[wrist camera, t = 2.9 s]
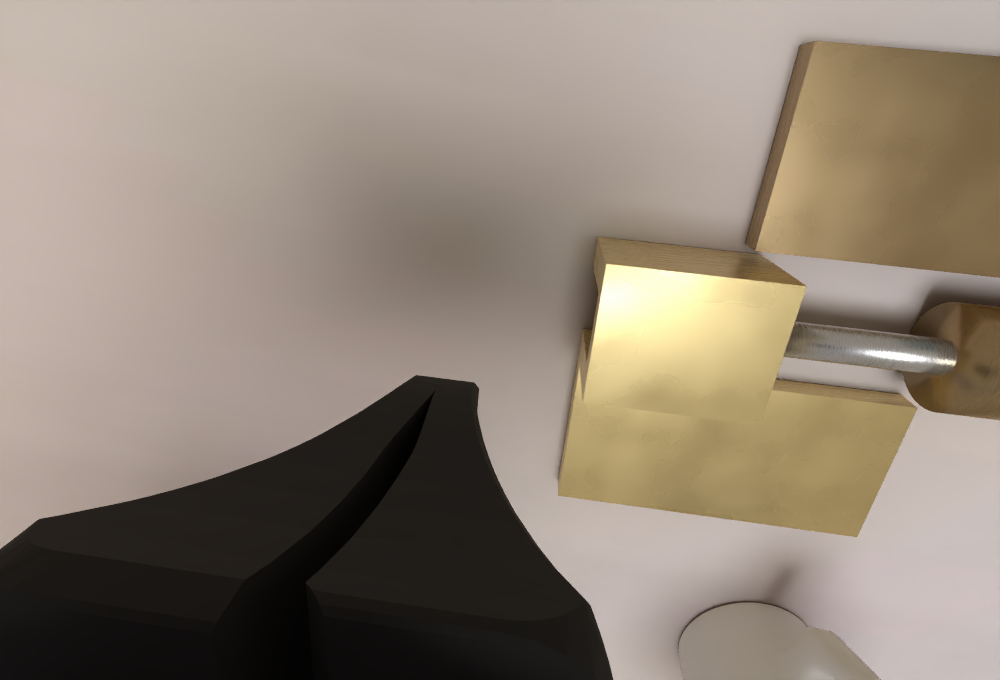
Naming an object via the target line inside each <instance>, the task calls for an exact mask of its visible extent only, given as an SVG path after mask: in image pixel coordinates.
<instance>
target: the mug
mask: <svg viewBox="0 0 1000 680" xmlns="http://www.w3.org/2000/svg"><path fill="white" fill-rule="evenodd" d="M678 653H679V660H680V665H681V670H682V676H683V680H881V679H880V678H879V677H878V676H877V675H876V674H875V673H874V672H873V671H872V670H871V669H870V668H869V667H868V666H867V665H866V664H865V663H864V662H863V661H862V660H861V659H860V658H859V657H858V656H857V655H856V654H855V653H854V652H853V651H852V650H851V649H850V648H849V647H848V646H847V645H846V644H845V643H844V642H843V641H842V640H841V639H840V638H839V637H838V636H837V635H836V634H835V633H833V632H831V631H827V630H822V629H819V628H814V627H807V626H806V625H805V624H804V623H803V622H802V621H801V620H800V619H799V618H798V617H796V616H795V615H793V614H792V613H790V612H788V611H786V610H784V609H781V608H779V607H776V606H772V605H768V604H762V603H751V602H745V603H733V604H728V605H723V606H720V607H717V608H714V609H711V610H709V611H707V612H705V613H703V614H702V615H700V616H698V617H697V618H696V619H695V620H693V621H692V622H691V623H690V624H689V625H688V626H687V628H686V629H685V631H684V632H683V634H682V636H681V638H680V641H679V648H678Z"/></svg>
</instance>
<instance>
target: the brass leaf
mask: <svg viewBox="0 0 1000 680" xmlns="http://www.w3.org/2000/svg"><path fill="white" fill-rule="evenodd" d="M593 270H594V274H595V279H596V283H597V288H598V292H599V294H598V300H597V306H596V311H595V317H594V323H593V329H592V330H590V329H583V331H582V337H581V344H580V350H579V356H578V362H577V368H576V374H575V380H574V387H573V393H572V399H571V405H570V411H569V417H568V423H567V429H566V436H565V442H564V448H563V454H562V460H561V466H560V472H559V478H558V496H566V497H573V498H580V499H587V500H594V501H601V502H609V503H616V504H623V505H630V506H637V507H645V508H652V509H659V510H666V511H673V512H680V513H688V514H695V515H702V516H709V517H716V518H724V519H731V520H738V521H745V522H752V523H759V524H767V525H774V526H781V527H788V528H795V529H803V530H810V531H817V532H824V533H831V534H838V535H846V536H853V537H857V536H858V534H859V532H860V530H861V527H862V525H863V523H864V521H865V519H866V517H867V515H868V512H869V510H870V508H871V506H872V504H873V502H874V500H875V498H876V495H877V493H878V491H879V489H880V487H881V485H882V483H883V481H884V478H885V476H886V474H887V472H888V470H889V468H890V466H891V463H892V461H893V459H894V457H895V455H896V453H897V451H898V449H899V446H900V444H901V442H902V440H903V438H904V436H905V434H906V431H907V429H908V427H909V425H910V423H911V421H912V419H913V417H914V414H915V412H916V410H917V407H916V406H914V405H913V404H912V403H911V402H909V401H908V400H907V399H906V398H905V397H903V396H902V395H901V394H893V393H885V392H877V391H869V390H861V389H852V388H844V387H836V386H828V385H820V384H812V383H804V382H795V381H787V380H779V379H776V377H777V374H778V371H779V368H780V365H781V362H782V359H783V356H784V353H785V350H786V347H787V344H788V341H789V338H790V335H791V332H792V329H793V326H794V323H795V320H796V317H797V314H798V311H799V308H800V305H801V302H802V299H803V296H804V293H805V290H806V287H807V286H805V285H804V284H803V283H801V282H800V281H798V280H797V279H795V278H794V277H792V276H791V275H789V274H788V273H787V272H785V271H784V270H782V269H781V268H779V267H778V266H776V265H775V264H774V263H772V262H771V261H769V260H768V259H766V258H765V257H763V256H762V255H760V254H751V253H742V252H732V251H723V250H714V249H705V248H696V247H687V246H677V245H668V244H659V243H650V242H641V241H632V240H622V239H613V238H604V237H598V239H597V245H596V252H595V258H594V264H593Z"/></svg>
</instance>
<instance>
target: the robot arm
mask: <svg viewBox="0 0 1000 680" xmlns="http://www.w3.org/2000/svg"><path fill="white" fill-rule="evenodd" d="M478 394H479V388H478V387H477V385H476V384H475V383H473V382H466V381H458V380H450V379H442V378H434V377H426V376H418V375H416V376H414V377H413V378H411V379H410V380H408V381H407V382H405V383H403V384H402V385H401V386H399V387H398V388H396V389H395V390H393V391H392V392H390V393H389V394H387V395H386V396H384V397H383V398H381V399H380V400H378V401H376V402H375V403H373V404H372V405H370V406H369V407H367V408H366V409H364V410H363V411H361V412H359V413H358V414H356V415H354V416H352V417H351V418H349V419H347V420H345V421H344V422H342V423H340V424H338V425H337V426H335V427H333V428H331V429H330V430H328V431H326V432H324V433H322V434H321V435H319V436H317V437H315V438H313V439H311V440H309V441H307V442H304V443H302V444H300V445H298V446H296V447H294V448H291V449H289V450H287V451H285V452H282V453H280V454H278V455H276V456H273V457H271V458H268V459H266V460H263V461H260V462H257V463H255V464H252V465H249V466H246V467H244V468H241V469H238V470H235V471H232V472H230V473H227V474H224V475H221V476H219V477H216V478H213V479H209V480H206V481H203V482H199V483H196V484H193V485H189V486H186V487H183V488H179V489H175V490H171V491H168V492H164V493H160V494H156V495H153V496H149V497H145V498H140V499H136V500H132V501H128V502H123V503H118V504H114V505H109V506H104V507H99V508H94V509H89V510H84V511H79V512H74V513H69V514H65V515H60V516H54V517H48V518H43V519H39V520H37V521H36V522H35V523H33V524H32V525H31V526H30V527H28V528H27V529H26V530H25V531H23V532H22V533H21V534H19V535H18V536H17V537H16V538H14V539H13V540H12V541H10V542H9V543H8V544H7V545H5V546H4V547H3V548H1V549H0V680H613V677H612V672H611V668H610V664H609V660H608V657H607V654H606V650H605V647H604V644H603V640H602V637H601V634H600V631H599V628H598V625H597V623H596V620H595V617H594V614H593V611H592V608H591V606H590V604H589V603H588V602H587V601H586V600H585V599H584V598H583V597H582V596H581V595H580V594H579V593H578V592H577V591H576V589H575V588H574V587H573V586H572V585H571V584H570V583H569V582H568V581H567V580H566V579H565V578H564V577H563V576H562V575H561V574H560V573H559V572H558V571H557V570H556V569H555V567H554V566H553V565H552V563H551V562H550V561H549V560H548V558H547V557H546V556H545V555H544V553H543V552H542V551H541V550H540V548H539V547H538V546H537V544H536V543H535V541H534V540H533V538H532V537H531V535H530V534H529V532H528V531H527V529H526V528H525V526H524V525H523V523H522V522H521V520H520V519H519V518H518V516H517V515H516V513H515V511H514V510H513V508H512V506H511V504H510V502H509V500H508V499H507V497H506V495H505V493H504V491H503V489H502V487H501V485H500V483H499V481H498V479H497V476H496V474H495V472H494V469H493V467H492V464H491V462H490V459H489V456H488V453H487V450H486V447H485V444H484V441H483V437H482V433H481V429H480V425H479V420H478V414H477V407H478Z"/></svg>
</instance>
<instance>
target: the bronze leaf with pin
mask: <svg viewBox="0 0 1000 680" xmlns="http://www.w3.org/2000/svg"><path fill="white" fill-rule="evenodd" d="M745 244H746V245H747V246H749V247H750V248H752V249H753V250H755V251H760V252H770V253H779V254H788V255H797V256H806V257H816V258H825V259H834V260H843V261H852V262H861V263H871V264H880V265H889V266H898V267H907V268H917V269H926V270H935V271H944V272H953V273H963V274H972V275H981V276H990V277H999V278H1000V57H996V56H984V55H973V54H961V53H949V52H937V51H925V50H914V49H902V48H890V47H878V46H866V45H855V44H843V43H831V42H819V41H814V42H811V43H807V44H804V45H800V49H799V52H798V56H797V59H796V63H795V67H794V70H793V74H792V77H791V81H790V85H789V88H788V92H787V95H786V99H785V103H784V106H783V110H782V113H781V117H780V121H779V124H778V128H777V131H776V135H775V139H774V142H773V146H772V149H771V153H770V157H769V160H768V164H767V167H766V171H765V175H764V178H763V182H762V186H761V189H760V193H759V196H758V200H757V204H756V207H755V211H754V214H753V218H752V222H751V225H750V229H749V232H748V236H747V240H746V243H745ZM783 357H790V358H798V359H806V360H815V361H823V362H831V363H840V364H848V365H856V366H865V367H873V368H881V369H890V370H898V371H903V375H904V380H905V383H906V386H907V388H908V391H909V393H910V394H911V396H912V397H913V399H914V400H915V401H916V402H917V403H918V404H919V405H920V406H922V407H923V408H925V409H927V410H929V411H933V412H938V413H946V414H954V415H962V416H970V417H978V418H986V419H994V420H1000V307H995V306H986V305H977V304H968V303H959V302H947V303H942V304H939V305H937V306H935V307H933V308H931V309H930V310H928V311H927V312H926V313H925V314H923V315H922V316H921V318H920V319H919V320H918V321H917V322H916V324H915V325H914V327H913V328H912V330H911V332H910V334H909V335H908V334H899V333H891V332H882V331H873V330H865V329H856V328H848V327H839V326H830V325H822V324H813V323H804V322H796V321H795V323H794V326H793V329H792V332H791V335H790V338H789V341H788V344H787V347H786V350H785V353H784V356H783Z"/></svg>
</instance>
